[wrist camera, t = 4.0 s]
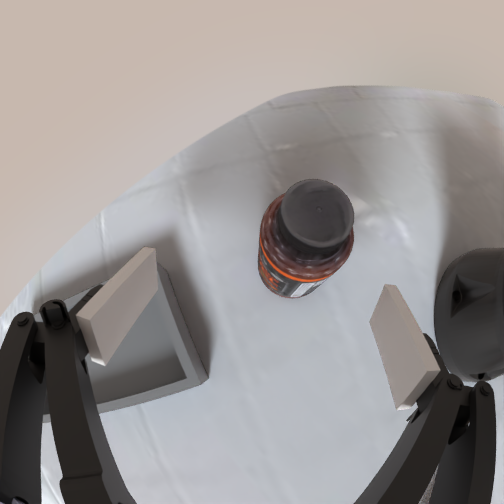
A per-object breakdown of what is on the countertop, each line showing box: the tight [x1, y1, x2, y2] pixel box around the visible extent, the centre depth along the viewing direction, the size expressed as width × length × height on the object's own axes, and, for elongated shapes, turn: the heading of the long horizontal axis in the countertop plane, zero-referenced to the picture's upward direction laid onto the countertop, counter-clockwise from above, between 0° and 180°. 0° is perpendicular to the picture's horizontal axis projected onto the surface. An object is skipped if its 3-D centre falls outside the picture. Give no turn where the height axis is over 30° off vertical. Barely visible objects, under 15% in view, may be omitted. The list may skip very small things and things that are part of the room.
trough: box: [33, 262, 209, 423], centre depth 19 cm, size 19×10×5 cm, turn 114°
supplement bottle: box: [258, 179, 354, 298], centre depth 19 cm, size 6×6×11 cm
